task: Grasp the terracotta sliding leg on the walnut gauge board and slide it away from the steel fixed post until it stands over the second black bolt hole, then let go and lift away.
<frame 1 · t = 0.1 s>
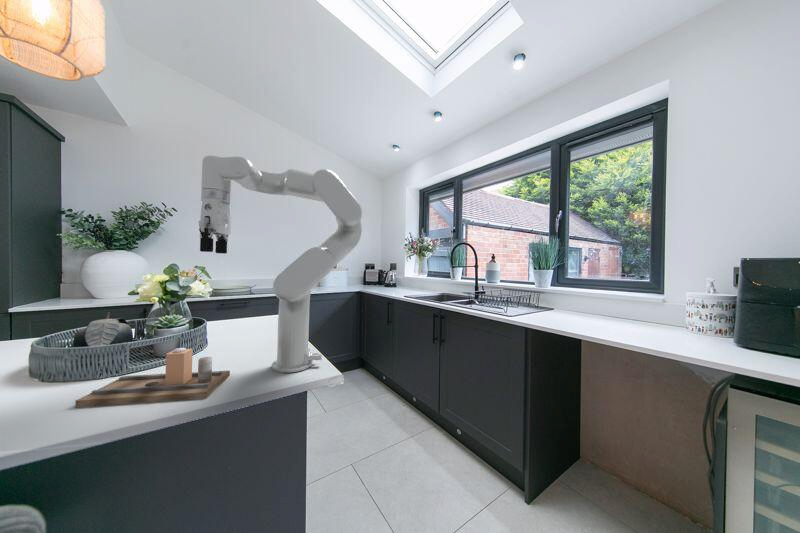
hand: (214, 252, 84), 36 cm above the counter, tool pointing down, fingers open, 9 cm apart
gauge board: (163, 389, 70), on the counter
sliding leg: (179, 365, 70), point 6 cm above the counter, slide at 6.0 cm
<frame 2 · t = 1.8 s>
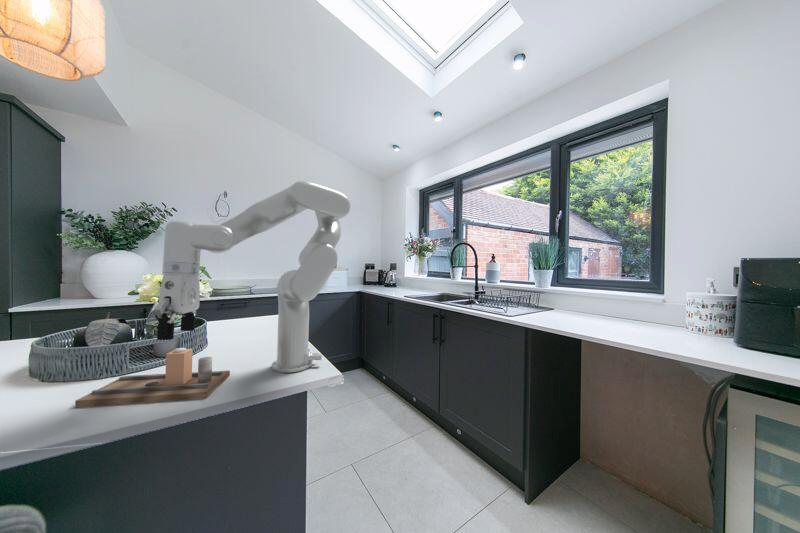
hand: (177, 334, 70), 14 cm above the counter, tool pointing down, fingers open, 9 cm apart
nothing on the counter moved.
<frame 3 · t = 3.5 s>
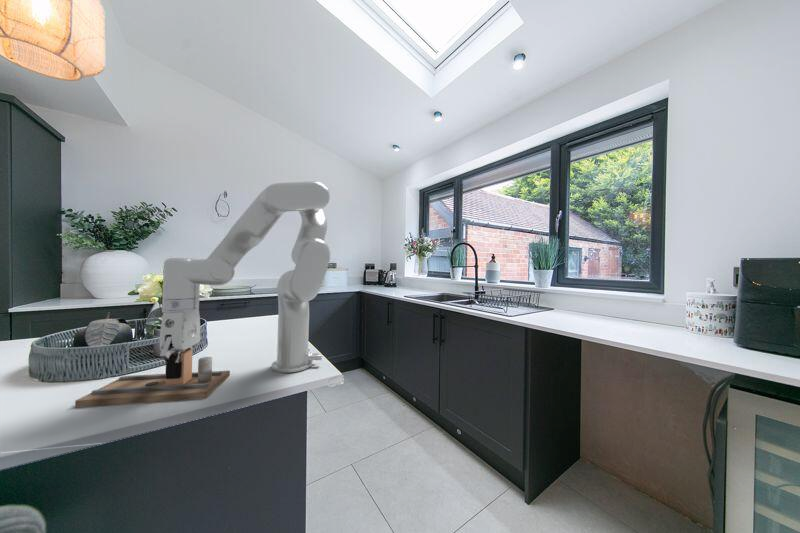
hand: (179, 373, 70), 4 cm above the counter, tool pointing down, fingers closed on sliding leg, 4 cm apart
sliding leg: (179, 365, 70), point 6 cm above the counter, slide at 6.0 cm, touching gripper
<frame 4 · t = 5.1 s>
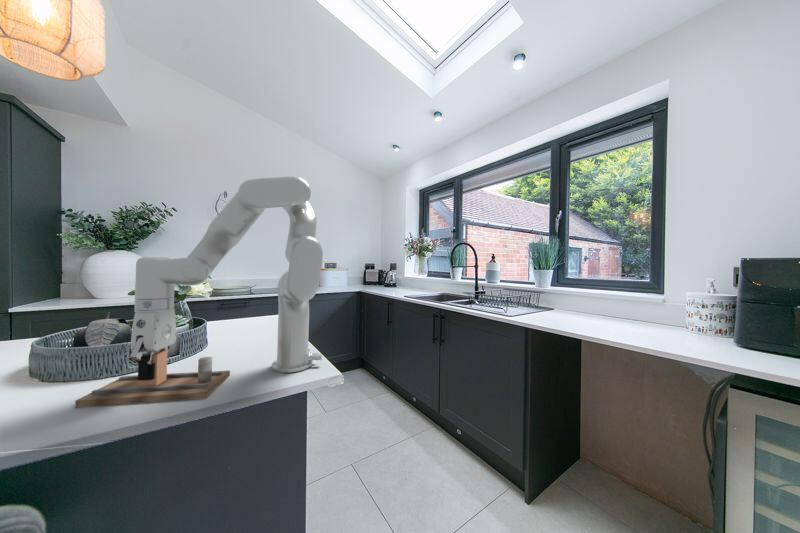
hand: (152, 375, 69), 4 cm above the counter, tool pointing down, fingers closed on sliding leg, 4 cm apart
sliding leg: (153, 366, 69), point 6 cm above the counter, slide at 11.9 cm, touching gripper
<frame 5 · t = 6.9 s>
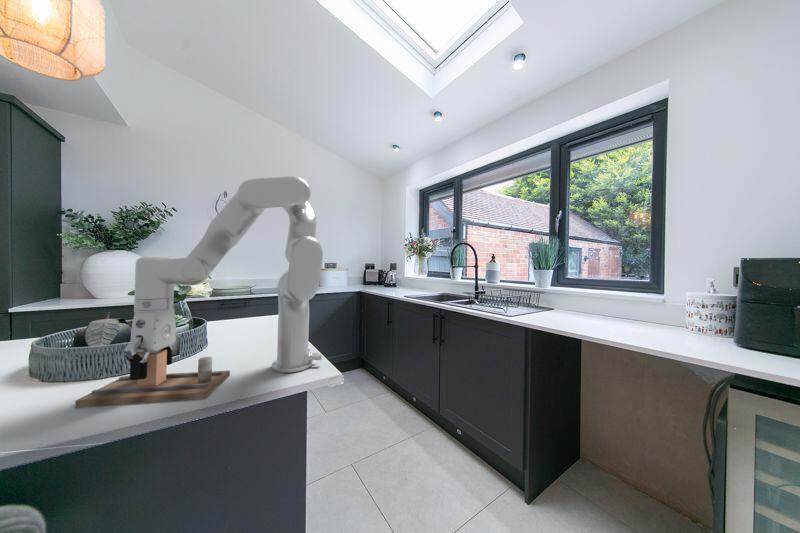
hand: (152, 371, 69), 5 cm above the counter, tool pointing down, fingers open, 9 cm apart
sliding leg: (152, 366, 69), point 6 cm above the counter, slide at 12.0 cm
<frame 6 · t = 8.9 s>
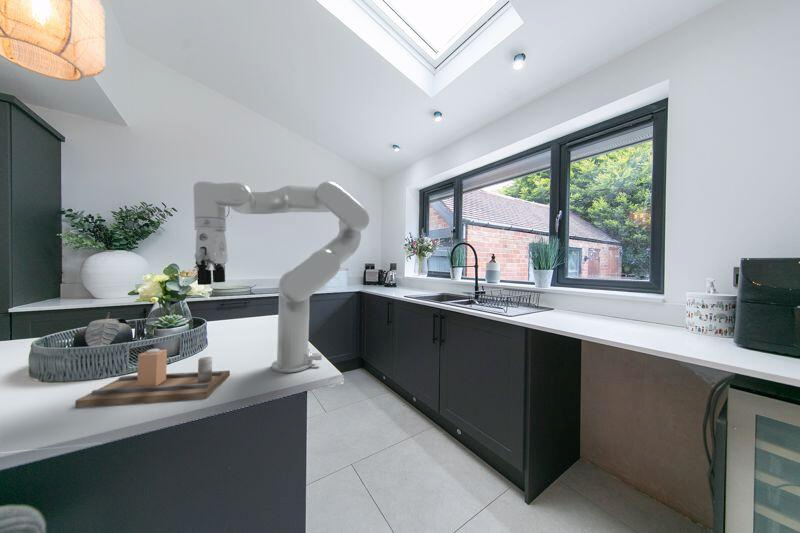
hand: (212, 283, 79), 27 cm above the counter, tool pointing down, fingers open, 9 cm apart
nothing on the counter moved.
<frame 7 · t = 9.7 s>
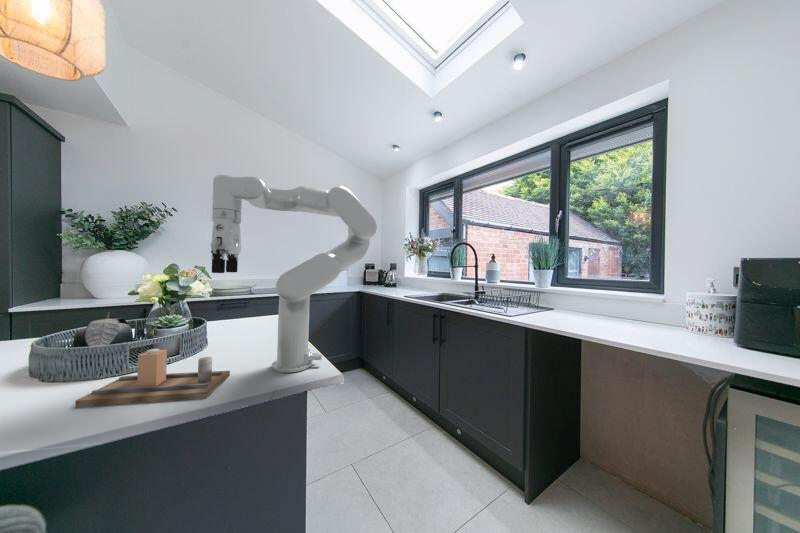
hand: (225, 272, 83), 30 cm above the counter, tool pointing down, fingers open, 9 cm apart
nothing on the counter moved.
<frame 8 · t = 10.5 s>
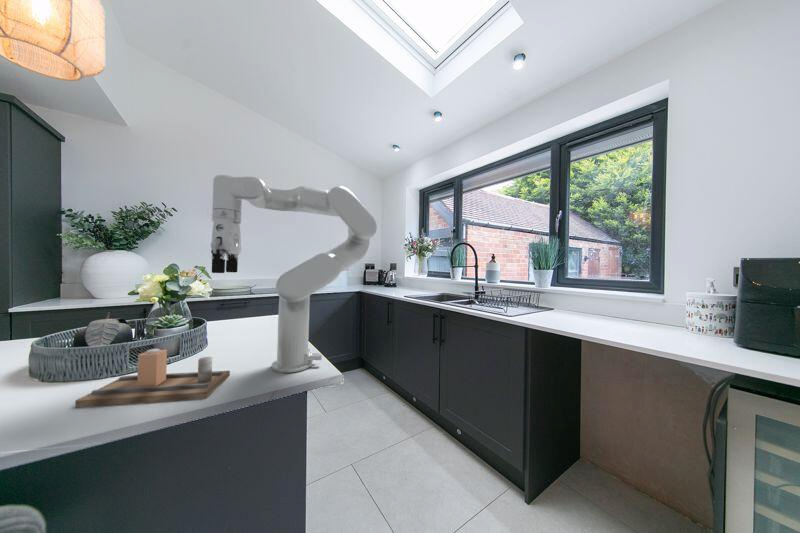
hand: (225, 272, 83), 30 cm above the counter, tool pointing down, fingers open, 9 cm apart
nothing on the counter moved.
at the end: sliding leg slide at 12.0 cm; the gripper is holding nothing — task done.
